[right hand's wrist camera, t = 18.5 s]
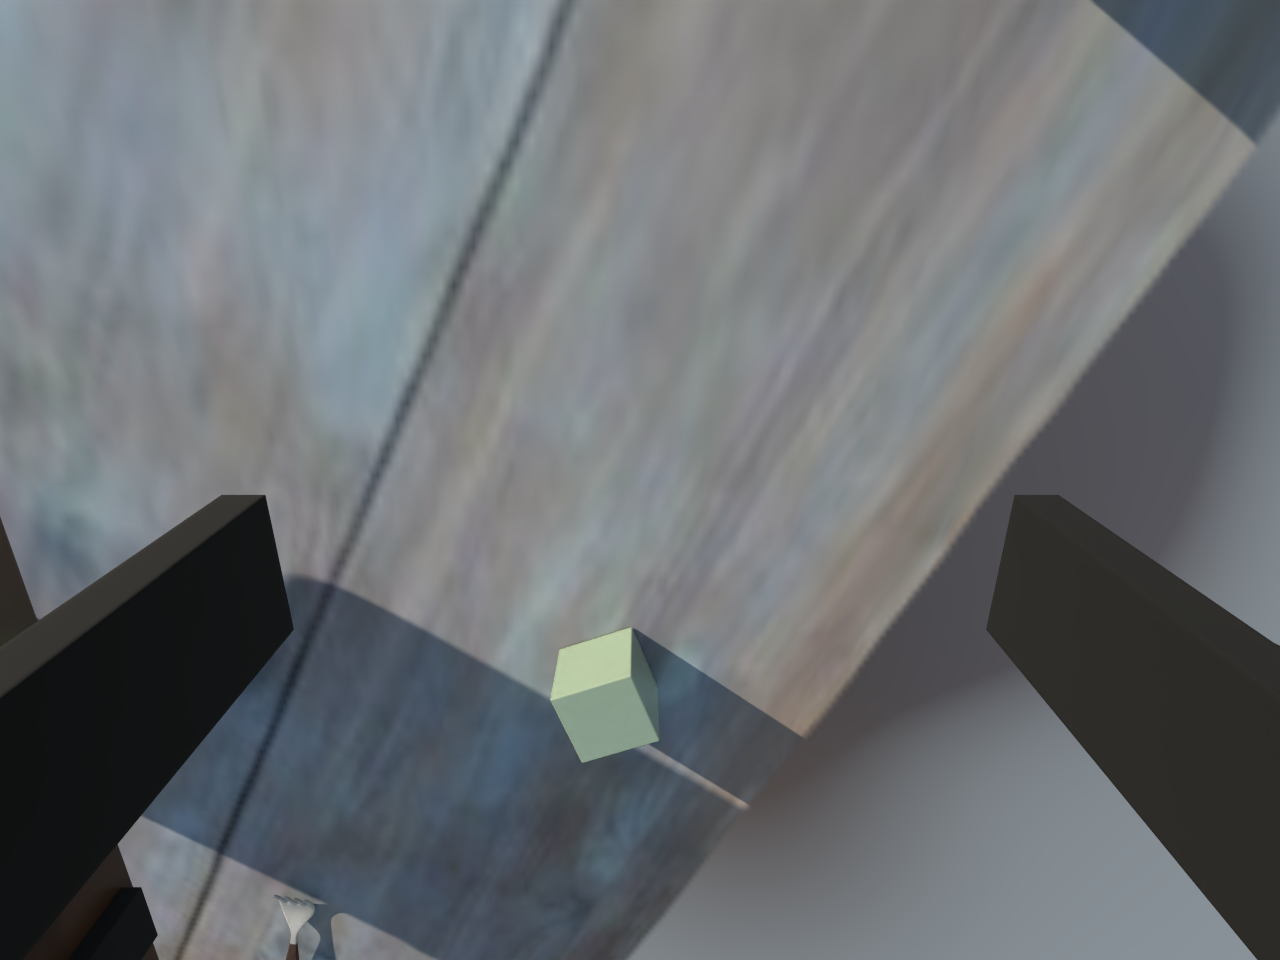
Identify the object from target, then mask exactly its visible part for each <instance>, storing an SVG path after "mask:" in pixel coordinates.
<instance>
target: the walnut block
mask: <svg viewBox="0 0 1280 960" xmlns="http://www.w3.org/2000/svg"><path fill="white" fill-rule="evenodd" d="M36 622H37V618H36V615H35V613H34V610H33V607H32V604H31V602H30V599H29V596H28V593H27V590H26V588H25V585H24V582H23V579H22V576H21V574H20V571H19V568H18V565H17V562H16V560H15V557H14V554H13V551H12V549H11V546H10V543H9V540H8V537H7V535H6V532H5V529H4V526H3V523H2V521H1V518H0V647H1V646H2V645H4V644H5V643H7V642H8V641H10V640H11V639H13V638H14V637H16V636H17V635H18V634H20V633H21V632H23V631H24V630H26V629H27V628H29V627H30V626H32V625H33V624H35V623H36ZM122 887H133V886H132V883H131V880H130V878H129V875H128V872H127V869H126V866H125V864H124V861H123V858H122V855H121V852H120V850H119V847H118V844H117V845H116V846H115V848H114V849H113V850H112V851H111V853H110V854H109V855H108V856H107V857H106V859H105V860H104V861H103V862H102V864H101V865H100V866H99V867H98V868H97V870H96V871H95V872H94V873H93V875H92V876H91V877H90V878H89V879H88V881H87V882H86V883H85V884H84V885H83V887H82V888H81V889H80V890H79V892H78V893H77V894H76V895H75V896H74V898H73V899H72V900H71V901H70V903H69V904H68V905H67V906H66V907H65V909H64V910H63V911H62V912H61V913H60V915H59V916H58V917H57V918H56V920H55V921H54V922H53V923H52V924H51V926H50V927H49V928H48V929H47V931H46V932H45V933H44V934H43V935H42V937H41V938H40V939H39V940H38V941H37V943H36V944H35V945H34V946H33V948H32V949H31V950H30V951H29V952H28V954H27V955H26V956H25V957H24V959H23V960H68V959H69V958H70V956H71V955H72V954H73V952H74V951H75V950H76V948H77V947H78V946H79V944H80V943H81V942H82V940H83V939H84V938H85V936H86V935H87V934H88V932H89V931H90V930H91V928H92V927H93V926H94V924H95V923H96V922H97V920H98V919H99V918H100V916H101V915H102V914H103V912H104V911H105V910H106V908H107V907H108V906H109V904H110V903H111V901H112V900H113V899H114V897H115V896H116V895H117V893H118V892H119V891H120V889H121V888H122ZM142 960H159V958H158V956H157V953H156V950H155V947H154V945H153V943H152V945H151V946H150V948H149V949H148V951H147V952H146V954H145V955H144V957H143V958H142Z"/></svg>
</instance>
